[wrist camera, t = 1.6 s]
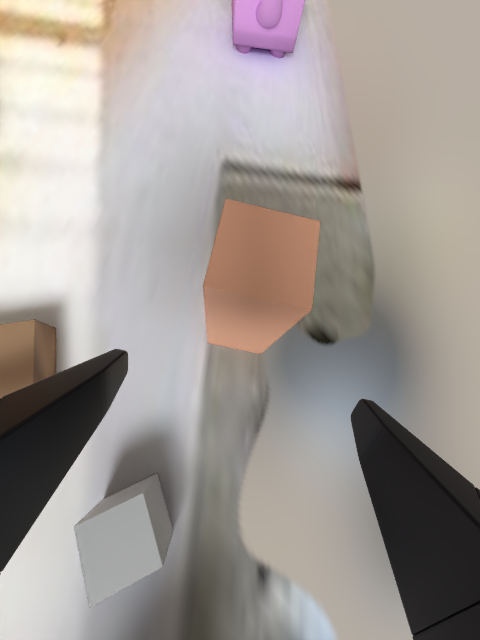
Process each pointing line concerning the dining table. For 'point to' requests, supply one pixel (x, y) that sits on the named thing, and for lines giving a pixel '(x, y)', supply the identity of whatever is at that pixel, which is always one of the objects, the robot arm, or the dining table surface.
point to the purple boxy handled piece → (266, 25)
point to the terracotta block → (259, 276)
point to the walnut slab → (26, 354)
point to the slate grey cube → (123, 539)
